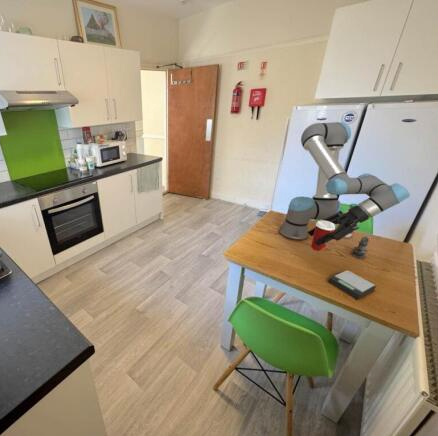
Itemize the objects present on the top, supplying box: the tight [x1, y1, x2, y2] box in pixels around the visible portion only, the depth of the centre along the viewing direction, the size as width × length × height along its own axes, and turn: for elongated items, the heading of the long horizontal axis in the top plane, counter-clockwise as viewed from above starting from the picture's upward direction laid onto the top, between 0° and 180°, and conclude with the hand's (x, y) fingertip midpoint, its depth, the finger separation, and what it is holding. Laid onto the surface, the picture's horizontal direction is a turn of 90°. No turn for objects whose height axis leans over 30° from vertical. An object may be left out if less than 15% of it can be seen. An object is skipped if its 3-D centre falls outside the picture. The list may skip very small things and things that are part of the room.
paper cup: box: [310, 219, 336, 252], centre depth 114 cm, size 8×8×14 cm
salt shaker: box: [351, 235, 370, 259], centre depth 124 cm, size 6×6×12 cm
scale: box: [327, 269, 377, 300], centre depth 106 cm, size 12×12×3 cm
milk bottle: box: [336, 203, 359, 239], centre depth 140 cm, size 8×8×20 cm
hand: (312, 238), depth 116 cm, fingers closed on paper cup, 8 cm apart
